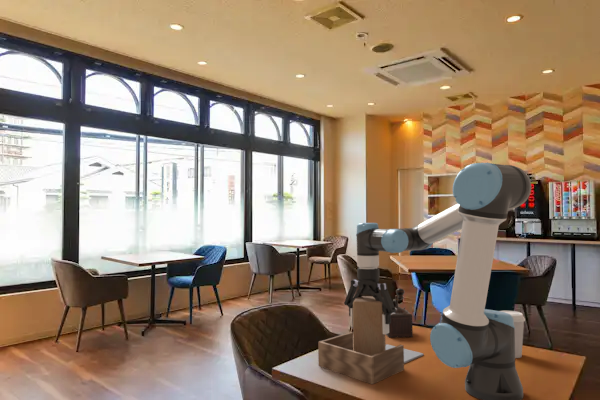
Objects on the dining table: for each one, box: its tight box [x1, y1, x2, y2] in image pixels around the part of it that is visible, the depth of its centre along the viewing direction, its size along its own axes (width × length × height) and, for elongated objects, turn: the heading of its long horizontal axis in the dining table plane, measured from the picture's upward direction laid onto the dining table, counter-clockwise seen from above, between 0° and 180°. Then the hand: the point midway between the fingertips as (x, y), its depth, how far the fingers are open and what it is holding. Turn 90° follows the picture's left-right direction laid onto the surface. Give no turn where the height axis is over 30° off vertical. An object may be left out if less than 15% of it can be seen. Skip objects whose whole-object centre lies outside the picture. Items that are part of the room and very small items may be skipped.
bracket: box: [317, 331, 405, 385], centre depth 142 cm, size 23×17×8 cm
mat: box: [386, 343, 424, 365], centre depth 155 cm, size 16×13×1 cm
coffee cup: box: [499, 310, 526, 359], centre depth 153 cm, size 10×10×15 cm
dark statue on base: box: [385, 287, 414, 339], centre depth 184 cm, size 16×11×18 cm
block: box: [352, 295, 387, 356], centre depth 146 cm, size 10×10×20 cm
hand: (369, 329), depth 146 cm, fingers closed on block, 13 cm apart
